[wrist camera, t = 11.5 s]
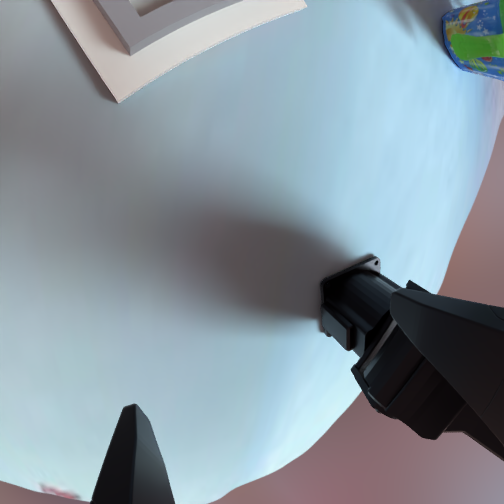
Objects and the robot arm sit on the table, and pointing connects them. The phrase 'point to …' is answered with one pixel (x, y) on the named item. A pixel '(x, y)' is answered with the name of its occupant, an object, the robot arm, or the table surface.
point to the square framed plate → (158, 33)
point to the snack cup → (477, 37)
